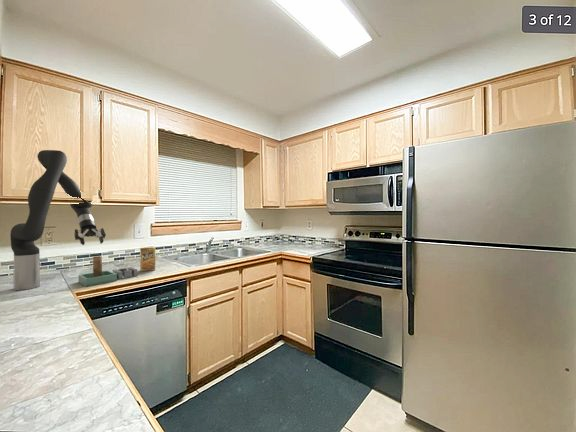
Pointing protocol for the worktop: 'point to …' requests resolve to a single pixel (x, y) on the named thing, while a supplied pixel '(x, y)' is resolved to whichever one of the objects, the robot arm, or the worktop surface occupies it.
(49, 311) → the worktop surface
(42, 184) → the robot arm
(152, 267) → the candy box
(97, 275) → the wooden pin
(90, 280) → the tray
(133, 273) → the socket block
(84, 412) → the worktop surface
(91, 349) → the worktop surface
